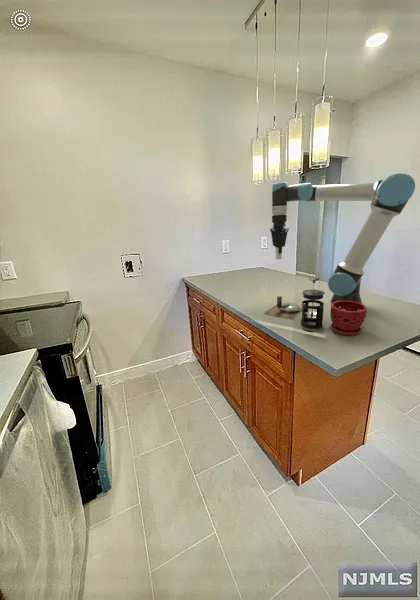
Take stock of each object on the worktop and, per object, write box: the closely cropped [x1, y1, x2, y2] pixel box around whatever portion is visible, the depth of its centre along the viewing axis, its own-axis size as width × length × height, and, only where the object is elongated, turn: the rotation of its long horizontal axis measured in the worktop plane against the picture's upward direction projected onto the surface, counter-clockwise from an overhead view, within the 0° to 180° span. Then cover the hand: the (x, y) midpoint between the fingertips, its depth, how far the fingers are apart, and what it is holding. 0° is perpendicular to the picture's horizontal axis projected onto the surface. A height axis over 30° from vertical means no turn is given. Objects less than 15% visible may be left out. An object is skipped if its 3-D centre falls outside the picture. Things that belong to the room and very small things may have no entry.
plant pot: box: [330, 301, 368, 336], centre depth 105 cm, size 13×13×12 cm
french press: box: [300, 277, 326, 333], centre depth 109 cm, size 12×9×23 cm
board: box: [263, 303, 302, 321], centre depth 131 cm, size 16×19×2 cm
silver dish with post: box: [276, 295, 301, 313], centre depth 130 cm, size 13×10×8 cm
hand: (278, 259), depth 138 cm, fingers closed
